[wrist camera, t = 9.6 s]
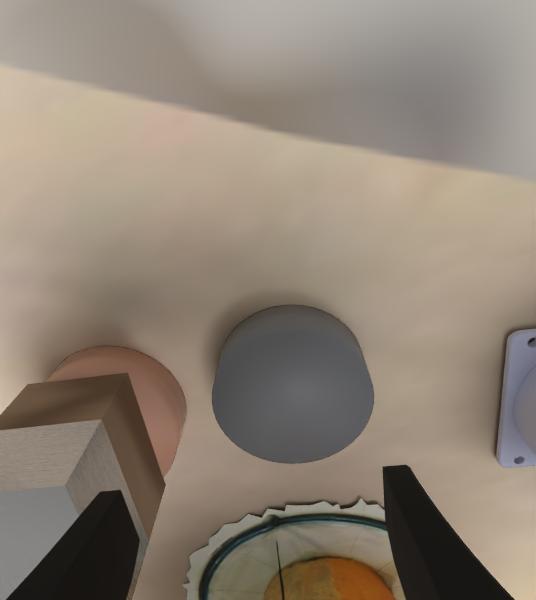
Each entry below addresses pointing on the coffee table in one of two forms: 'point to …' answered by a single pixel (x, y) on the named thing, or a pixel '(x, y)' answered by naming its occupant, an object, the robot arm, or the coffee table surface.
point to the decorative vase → (299, 557)
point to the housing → (71, 467)
